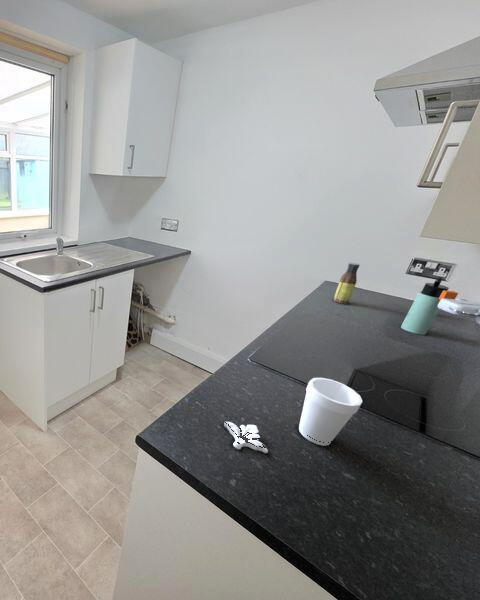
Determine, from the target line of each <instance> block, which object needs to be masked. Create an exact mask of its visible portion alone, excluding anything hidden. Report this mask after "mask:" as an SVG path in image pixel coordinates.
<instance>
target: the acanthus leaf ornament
mask: <svg viewBox="0 0 480 600" xmlns="http://www.w3.org/2000/svg"><path fill="white" fill-rule="evenodd" d="M225 422H226V423H227V424H226V423H225ZM225 422H224V424H223V425H224V427H225V428H226V429H227V431H228V432H229V434H230V435H232V436H233V438H234V440H235V441H234V442H233V445H232V446H233V447H234V448H235V449H237V450H241V449H242V448H243V447H247V448H250V449H253V450H254V451H259V452H262V453H264V454H268V453H269V449H268V448H267V447H266V448H264V447H263V445H264V444H263V443H262V442H261V441H259V440H260V439H257V440H252V438H261V436H260V435H259V433H260V431H259V429H258V426H257V425H255V424H247V425H244V424H241V425H240V426H239V427H240V428H241V430H242V432H240V429H239V427H238V425H236V424H235V423H233V422H232V421H225ZM228 424H229V426H230V427H231V428H230V427H229V426H228ZM231 429H232V430H233V431H234V432H233V431H232V430H231ZM247 432H249V433H252V434H249V433H247ZM235 433H236V434H237V435H236V434H235ZM240 433H242V436H243V435H245V434H246V433H247V434H246V435H245V436H246V438H248V439H250V440H248V442H250V443H252V444H254V445H255V446H254V445H252V444H250V443H246V442H245V440H243V439H242V438H240V437H239V438H238V437H237V436H240ZM257 433H258V434H257ZM248 434H249V435H248ZM247 435H248V436H247ZM245 436H244V437H245ZM237 442H239V443H240V444H238V443H237ZM262 444H263V445H262ZM256 446H257V447H256ZM259 446H261V447H263V448H261V447H259Z"/></svg>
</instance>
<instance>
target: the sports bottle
mask: <svg viewBox="0 0 480 600" xmlns="http://www.w3.org/2000/svg"><path fill="white" fill-rule="evenodd" d="M442 281H443V278H442V277H441V276H438V277H437V278H435V280H434V282H426V283H425V284H424V286H423V288H422V289H421V291H418V293H417V295H416V297H415V298H414V300H413V302H412V304H411V307H410V308H409V310H408V312H407V314H406V316H405V318H404V320H403V321H402V323H401V326H400V328H401V329H402V330H404V331H406V332H409V333H412V334H416V335H423V336H424V335H426V334H427V333H428V331H429V330H430V327H431V326H432V324H433V322H434V320H435V319H436V317H437V315H438V313H439V312H440V310H441V309H439V308H438V304H439V302H440V299H439V297H440V295H441V293H442V291H443V290H445V291H449V289H450V288H449V287H448V286H446V285H443V284H441V283H442Z"/></svg>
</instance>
